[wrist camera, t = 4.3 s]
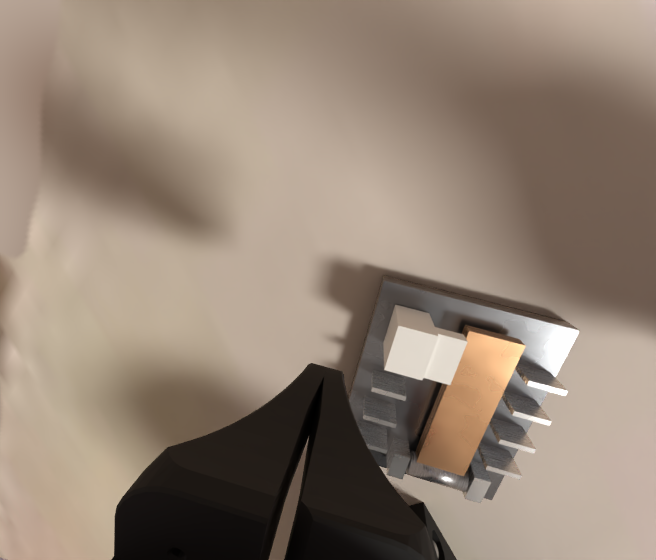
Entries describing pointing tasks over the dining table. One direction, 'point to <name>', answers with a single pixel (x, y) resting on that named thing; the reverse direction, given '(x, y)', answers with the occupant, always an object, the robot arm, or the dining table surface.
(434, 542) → the electrical component
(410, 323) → the white stepped block
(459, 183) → the dining table surface
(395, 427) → the heatsink
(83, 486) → the dining table surface
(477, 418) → the brown flat bar
